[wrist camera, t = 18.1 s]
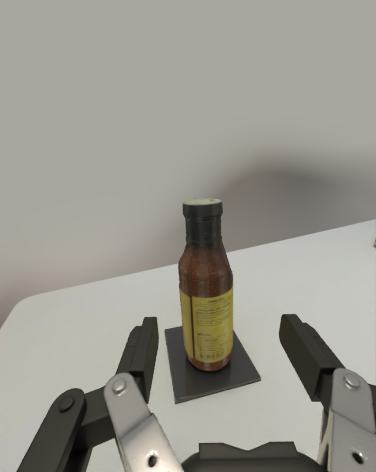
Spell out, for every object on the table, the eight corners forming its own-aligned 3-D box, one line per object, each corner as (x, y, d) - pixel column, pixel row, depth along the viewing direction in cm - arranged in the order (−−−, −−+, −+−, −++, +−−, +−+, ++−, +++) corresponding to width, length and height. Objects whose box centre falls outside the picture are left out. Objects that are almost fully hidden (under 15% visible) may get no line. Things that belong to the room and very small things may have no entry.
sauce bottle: (240, 347, 26) (250, 198, 20) (216, 386, 22) (220, 208, 15) (200, 325, 30) (198, 195, 24) (172, 354, 26) (161, 202, 19)
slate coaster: (175, 404, 21) (175, 400, 20) (164, 331, 30) (164, 329, 30) (260, 380, 23) (260, 377, 22) (225, 319, 32) (226, 317, 32)
